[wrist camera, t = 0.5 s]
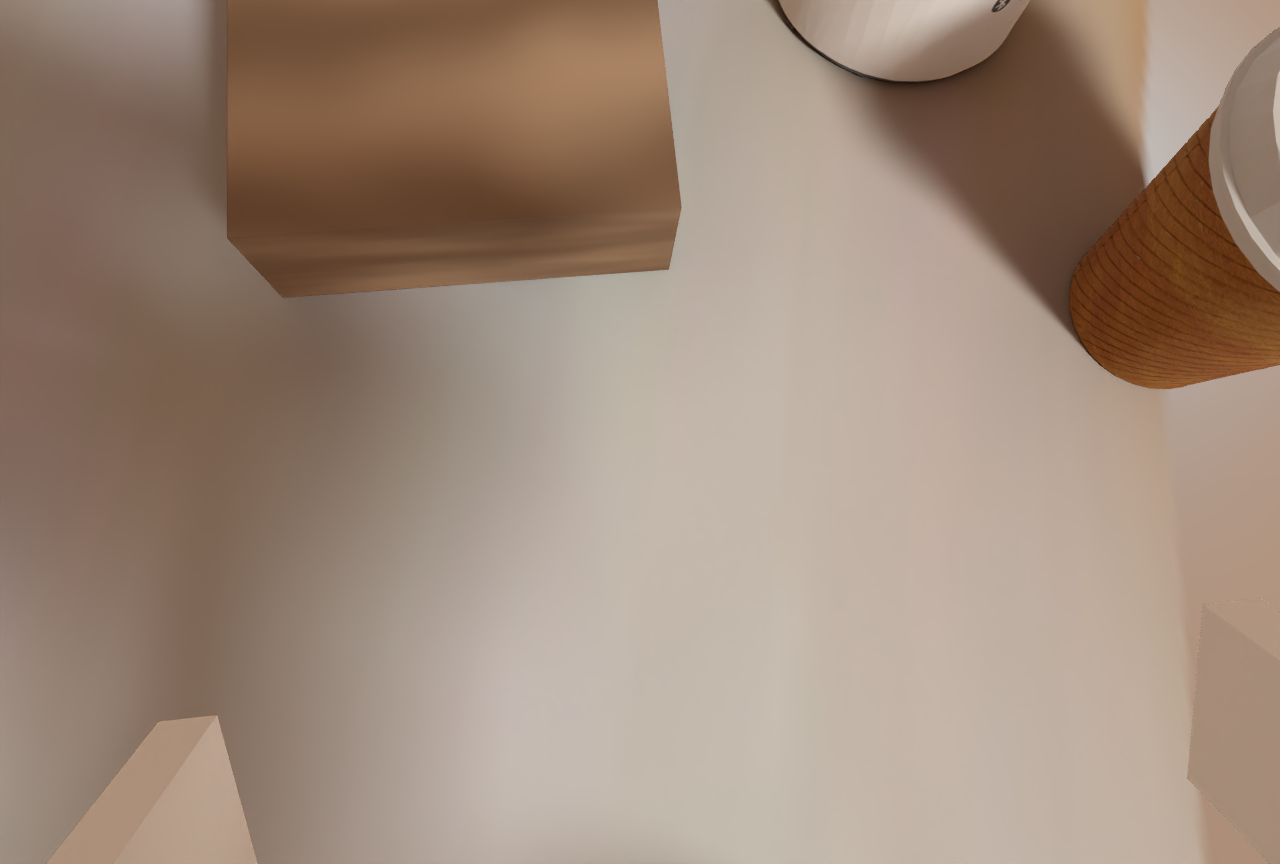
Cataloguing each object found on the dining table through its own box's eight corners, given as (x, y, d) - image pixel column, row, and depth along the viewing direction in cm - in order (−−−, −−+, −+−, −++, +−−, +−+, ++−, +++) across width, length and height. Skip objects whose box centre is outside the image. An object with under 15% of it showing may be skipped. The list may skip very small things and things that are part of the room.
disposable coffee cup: (1008, 198, 35) (1218, -23, 23) (1244, 189, 35) (1567, -31, 24) (1047, 439, 33) (1301, 331, 21) (1298, 425, 33) (1679, 313, 22)
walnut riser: (668, 269, 33) (681, 207, 28) (282, 297, 32) (227, 237, 27) (632, -55, 36) (638, -162, 31) (278, -38, 35) (227, -146, 30)
